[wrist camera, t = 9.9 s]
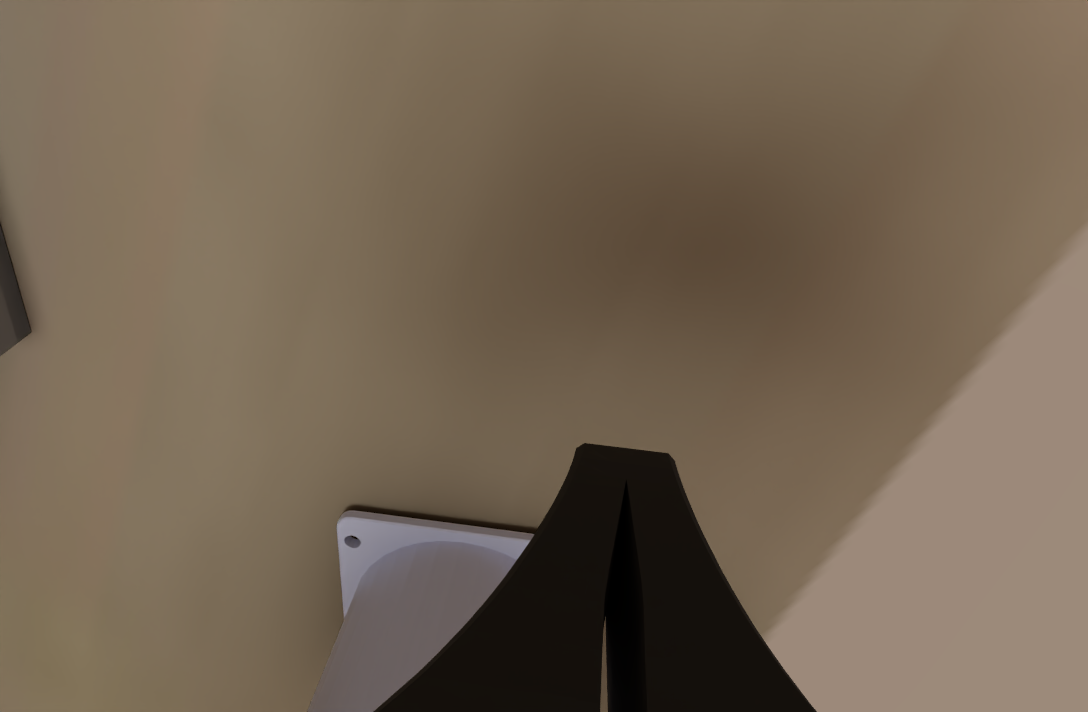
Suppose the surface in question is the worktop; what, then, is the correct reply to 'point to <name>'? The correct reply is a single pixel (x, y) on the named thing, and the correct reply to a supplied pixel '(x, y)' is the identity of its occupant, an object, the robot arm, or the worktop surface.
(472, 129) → the worktop surface
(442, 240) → the worktop surface
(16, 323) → the tray
